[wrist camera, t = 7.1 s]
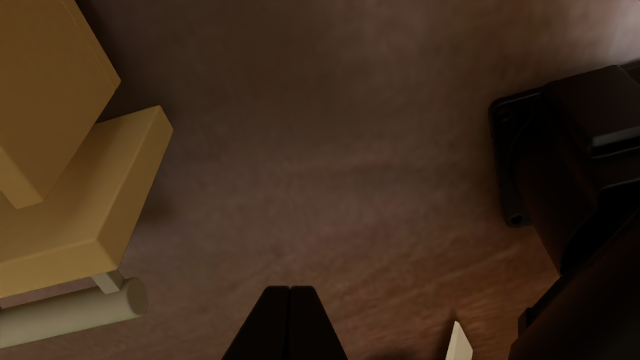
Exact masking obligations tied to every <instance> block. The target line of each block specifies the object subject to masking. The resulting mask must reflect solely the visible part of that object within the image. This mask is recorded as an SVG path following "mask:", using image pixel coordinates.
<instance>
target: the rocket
mask: <svg viewBox="0 0 640 360" xmlns="http://www.w3.org/2000/svg"><path fill="white" fill-rule="evenodd" d="M472 353H473V350H472V348H471V346H470V344H469V342H468V340H467V338H466V336H465V334H464V332H463V330H462V328H461V326H460V324H459V323H458V322H456V321H455V324H454V328H453V332H452V336H451V340H450V344H449V348H448V352H447V356H446V360H471V358H472Z"/></svg>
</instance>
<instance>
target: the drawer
mask: <svg viewBox="0 0 640 360" xmlns="http://www.w3.org/2000/svg"><path fill="white" fill-rule="evenodd" d="M120 83H121V80H120V78H119V76H118V74H117V73H116V71H115V69H114V68H113V66H112V64H111V62H110V61H109V59H108V57H107V55H106V54H105V52H104V50H103V49H102V47H101V45H100V43H99V42H98V40H97V38H96V37H95V35H94V33H93V31H92V30H91V28H90V26H89V24H88V23H87V21H86V19H85V18H84V16H83V14H82V12H81V11H80V9H79V7H78V6H77V4H76V2H75V0H0V299H1V298H5V297H9V296H13V295H17V294H21V293H25V292H29V291H33V290H37V289H41V288H45V287H49V286H53V285H57V284H61V283H65V282H70V281H74V280H78V279H82V278H86V277H90V276H91V278H92V279H93V280H94V281H95V282H96V284H97V285H98V286H95V287H91V288H87V289H83V290H79V291H75V292H71V293H67V294H62V295H58V296H54V297H50V298H46V299H42V300H38V301H34V302H29V303H25V304H21V305H17V306H13V307H9V308H5V309H2V308H1V306H0V349H1V348H5V347H10V346H14V345H18V344H23V343H27V342H32V341H36V340H40V339H45V338H49V337H53V336H58V335H62V334H67V333H71V332H75V331H80V330H84V329H88V328H93V327H97V326H102V325H106V324H110V323H115V322H119V321H124V320H128V319H132V318H137V317H140V316H142V315H143V314H144V313H145V311H146V309H147V303H148V299H147V292H146V289H145V287H144V285H143V283H142V282H141V281H140V280H139V279H137V278H129V279H124V277H123V276H122V275H121V273H120V272H119V271H118V268H119V265H120V263H121V260H122V258H123V255H124V253H125V250H126V248H127V246H128V243H129V241H130V238H131V236H132V233H133V231H134V228H135V226H136V223H137V221H138V218H139V216H140V213H141V211H142V208H143V206H144V203H145V201H146V198H147V196H148V193H149V191H150V189H151V186H152V184H153V181H154V179H155V176H156V174H157V171H158V169H159V166H160V164H161V161H162V159H163V156H164V154H165V151H166V149H167V146H168V144H169V141H170V139H171V136H172V134H173V132H174V131H173V128H172V126H171V124H170V122H169V121H168V119H167V117H166V115H165V113H164V112H163V110H162V108H161V106H160V105H157V106H154V107H151V108H147V109H144V110H141V111H137V112H134V113H131V114H127V115H124V116H121V117H117V118H114V119H111V120H107V121H104V122H100V123H97V124H94V123H95V122H96V120H97V119H98V117H99V116H100V114H101V113H102V111H103V109H104V108H105V106H106V105H107V103H108V102H109V100H110V99H111V97H112V96H113V94H114V93H115V90H116V89H117V87H118V86H119V84H120Z"/></svg>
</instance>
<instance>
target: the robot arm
mask: <svg viewBox="0 0 640 360" xmlns="http://www.w3.org/2000/svg"><path fill="white" fill-rule="evenodd" d="M506 108H507V112H506V113H505V114H503V115H497V114H498V112H499V111H500V110H502V109H506ZM488 116H489V123H490V130H491V138H492V145H493V152H494V159H495V166H496V173H497V180H498V187H499V194H500V201H501V208H502V215H503V218H504V221H505V223H506V225H507V226H508V227H511V228H519V227H523V226H527V225H532V224H533V225H534V227H535V229H536V231H537V233H538V235H539V237H540V239H541V241H542V243H543V245H544V247H545V248H546V250H547V252H548V254H549V256H550V258H551V260H552V262H553V264H554V266H555V268H556V270H557V272H558V274H559V276H560V278H559V279H558V280H557V281H556V282H555V283H554V284H553V286H552V287H551V288H550V289H549V290H548V291H547V292H546V293H545V294H544V295H543V296H542V297H541V298H540V300H539V301H538V302H537V303H536V304H535V305H534V306H533V307H532V308H527V309H526V310H525V311H524V312H523V313H522V314H521V315H520V317H519V318H518V338H517V339H516V340H515V341H514V343H513V344H512V345H511V349H510V353H509V357H508V360H640V61H636V62H632V63H628V64H625V65H621V66H617V65H611V66H608V67H604V68H600V69H597V70H593V71H589V72H586V73H582V74H578V75H574V76H571V77H567V78H563V79H560V80H556V81H552V82H549V83H547V84H546V85H545V86H543V87H539V88H536V89H532V90H528V91H525V92H521V93H517V94H514V95H510V96H506V97H502V98H499V99H497V100H495V101H494V102H492V103H491V105H490V106H489V108H488ZM516 215H519V216H518V217H516V218H512V217H513V216H516ZM221 360H348V358H347V356H346V354H345V352H344V350H343V348H342V346H341V343H340V341H339V339H338V337H337V335H336V333H335V331H334V329H333V326H332V324H331V322H330V320H329V318H328V316H327V314H326V312H325V309H324V307H323V305H322V303H321V301H320V299H319V297H318V295H317V292H316V290H315V289H314V287H312V286H292V287H291V289H290V288H289V287H288V286H268V287H266V288H265V290H264V291H263V293H262V294H261V296H260V298H259V299H258V301H257V302H256V304H255V306H254V307H253V309H252V311H251V312H250V314H249V315H248V317H247V319H246V320H245V322H244V324H243V325H242V327H241V328H240V330H239V332H238V333H237V335H236V336H235V338H234V340H233V341H232V343H231V345H230V346H229V348H228V349H227V351H226V353H225V354H224V356H223V358H222V359H221Z"/></svg>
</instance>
